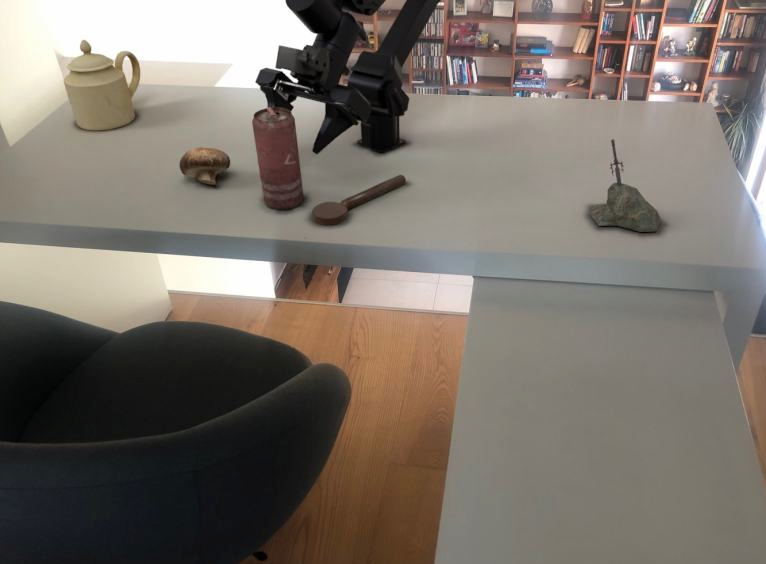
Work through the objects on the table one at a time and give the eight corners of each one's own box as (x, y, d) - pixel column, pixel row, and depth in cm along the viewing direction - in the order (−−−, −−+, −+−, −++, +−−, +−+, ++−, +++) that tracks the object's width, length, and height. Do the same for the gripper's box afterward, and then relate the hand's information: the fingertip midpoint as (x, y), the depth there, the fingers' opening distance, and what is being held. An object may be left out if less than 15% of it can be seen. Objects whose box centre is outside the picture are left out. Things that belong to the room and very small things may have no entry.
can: (292, 188, 112) (281, 102, 103) (310, 204, 107) (300, 115, 98) (257, 198, 109) (243, 110, 100) (274, 214, 105) (261, 124, 96)
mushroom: (214, 177, 108) (205, 138, 107) (175, 192, 111) (165, 153, 110) (244, 181, 115) (235, 144, 114) (206, 194, 118) (197, 158, 118)
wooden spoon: (393, 177, 114) (392, 168, 113) (415, 187, 111) (415, 178, 110) (305, 217, 104) (304, 207, 103) (328, 229, 101) (327, 219, 100)
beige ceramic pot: (99, 102, 143) (77, 25, 134) (151, 103, 143) (132, 25, 133) (66, 130, 132) (39, 47, 122) (122, 131, 131) (99, 48, 122)
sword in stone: (660, 210, 104) (680, 133, 97) (660, 236, 98) (681, 156, 91) (592, 202, 106) (606, 126, 99) (588, 227, 101) (602, 148, 93)
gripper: (254, 11, 102) (213, 109, 102) (355, 29, 94) (310, 136, 94) (295, 52, 112) (258, 141, 112) (389, 72, 104) (349, 168, 104)
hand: (291, 146), depth 105 cm, fingers open, 9 cm apart
